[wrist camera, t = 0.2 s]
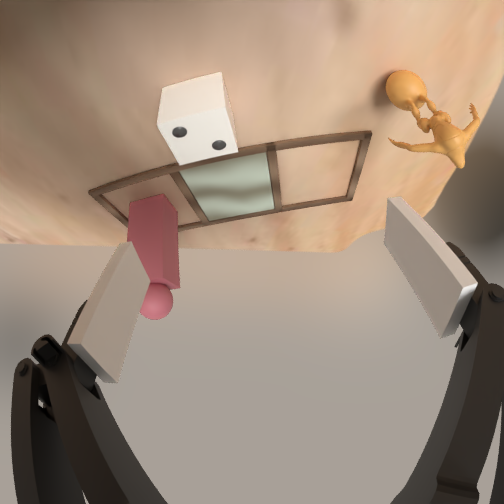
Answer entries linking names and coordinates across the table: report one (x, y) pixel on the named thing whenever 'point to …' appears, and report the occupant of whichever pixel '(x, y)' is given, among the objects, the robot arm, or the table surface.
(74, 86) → the table surface
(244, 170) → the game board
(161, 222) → the pawn
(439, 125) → the figurine
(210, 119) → the die
